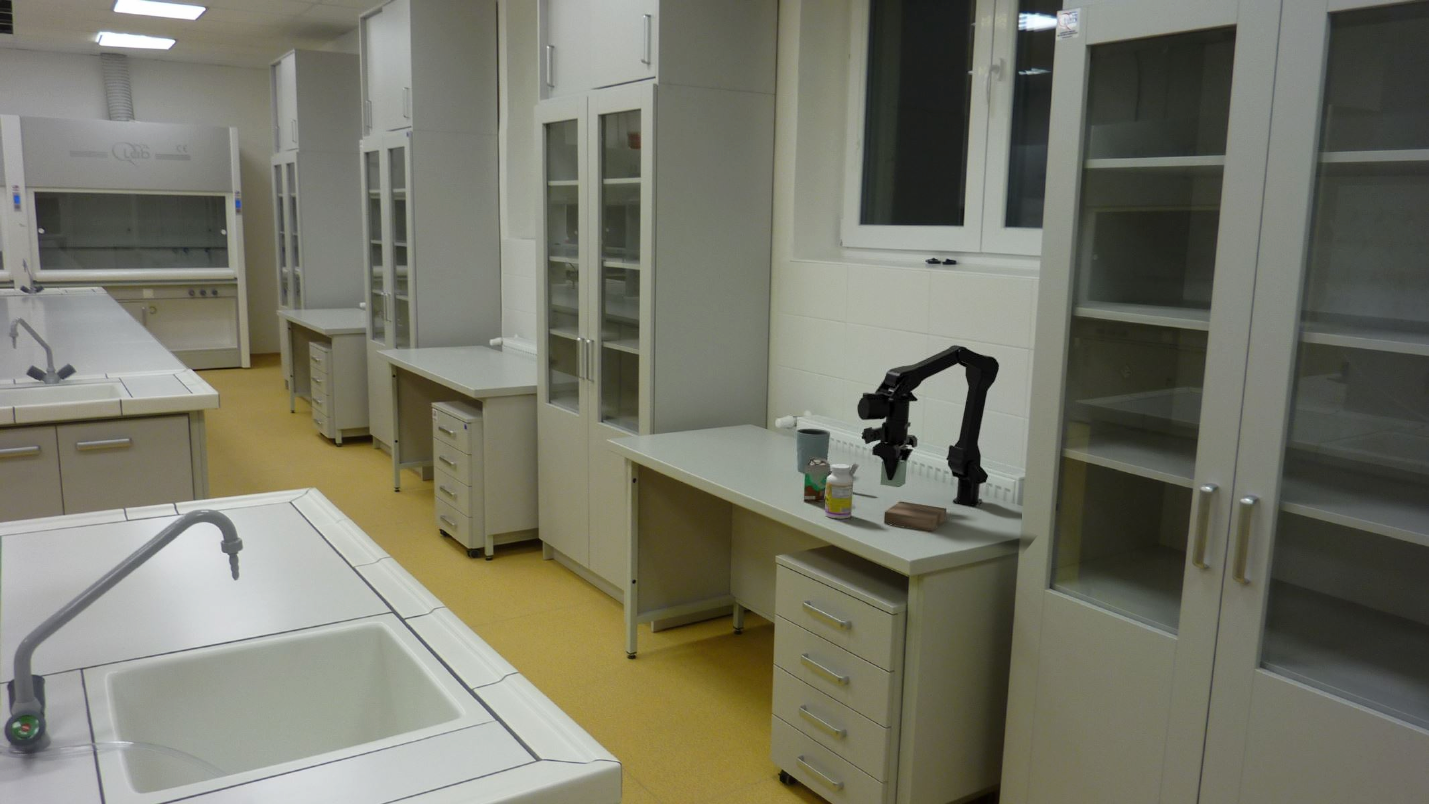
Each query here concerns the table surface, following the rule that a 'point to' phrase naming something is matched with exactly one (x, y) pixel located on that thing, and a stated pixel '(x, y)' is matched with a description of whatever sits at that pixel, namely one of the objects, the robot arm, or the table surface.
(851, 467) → the lighter
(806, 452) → the grey plant pot
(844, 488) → the supplement bottle
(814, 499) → the food container
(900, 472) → the green block
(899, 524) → the walnut base
